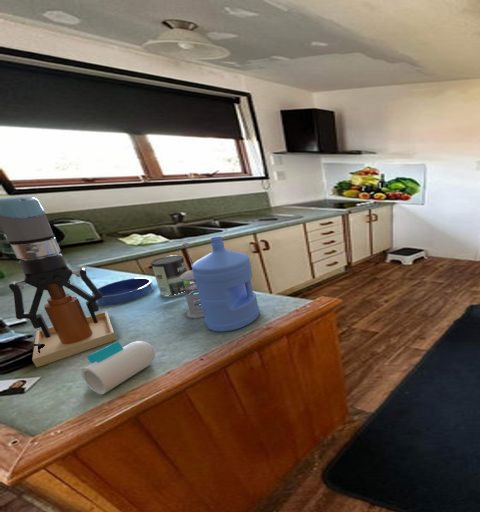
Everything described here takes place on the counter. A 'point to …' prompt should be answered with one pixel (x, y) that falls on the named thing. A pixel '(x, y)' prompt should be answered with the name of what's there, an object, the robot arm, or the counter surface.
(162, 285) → the coffee can
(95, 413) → the counter surface
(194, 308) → the french press
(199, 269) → the water jug
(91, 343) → the tray
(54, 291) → the bottle
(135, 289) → the bowl
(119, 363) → the mug
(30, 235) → the robot arm
